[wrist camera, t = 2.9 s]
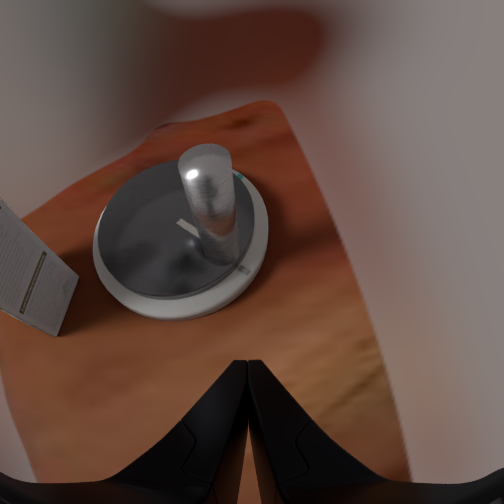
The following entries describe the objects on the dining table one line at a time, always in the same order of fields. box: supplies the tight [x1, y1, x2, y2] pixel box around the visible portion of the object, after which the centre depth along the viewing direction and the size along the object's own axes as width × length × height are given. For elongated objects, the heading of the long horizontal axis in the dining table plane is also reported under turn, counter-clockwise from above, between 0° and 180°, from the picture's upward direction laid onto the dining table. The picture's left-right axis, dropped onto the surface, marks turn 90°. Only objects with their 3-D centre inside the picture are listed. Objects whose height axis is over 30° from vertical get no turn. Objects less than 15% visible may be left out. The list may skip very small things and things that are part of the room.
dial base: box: [93, 169, 268, 322], centre depth 23 cm, size 14×14×2 cm
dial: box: [98, 144, 255, 300], centre depth 19 cm, size 12×12×9 cm
